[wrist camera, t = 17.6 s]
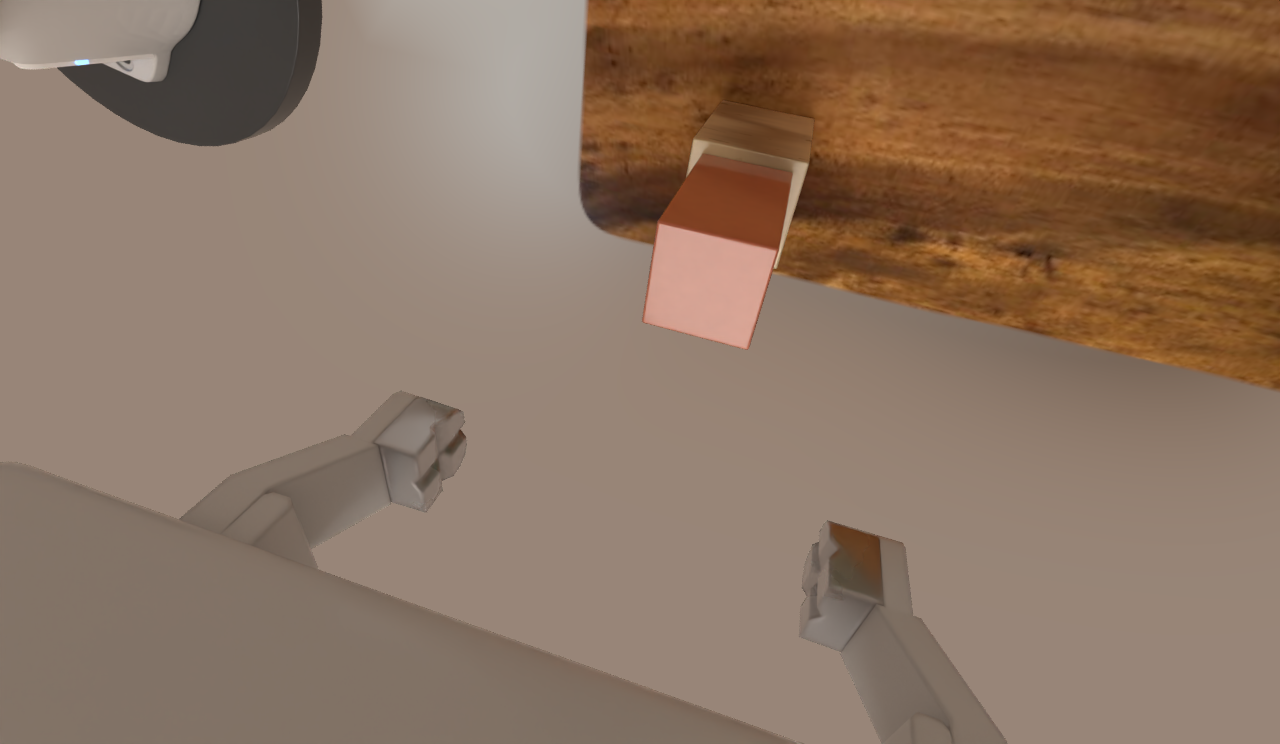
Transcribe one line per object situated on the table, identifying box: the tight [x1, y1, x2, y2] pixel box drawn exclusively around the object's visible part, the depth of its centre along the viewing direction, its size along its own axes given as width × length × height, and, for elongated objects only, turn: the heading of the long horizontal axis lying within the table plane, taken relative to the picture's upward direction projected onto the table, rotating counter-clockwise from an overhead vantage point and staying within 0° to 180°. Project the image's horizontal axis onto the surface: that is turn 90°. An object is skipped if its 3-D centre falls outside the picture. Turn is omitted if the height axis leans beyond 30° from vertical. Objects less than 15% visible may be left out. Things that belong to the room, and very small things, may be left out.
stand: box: [686, 100, 815, 269], centre depth 29 cm, size 5×5×8 cm
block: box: [642, 153, 793, 350], centre depth 23 cm, size 4×4×8 cm
